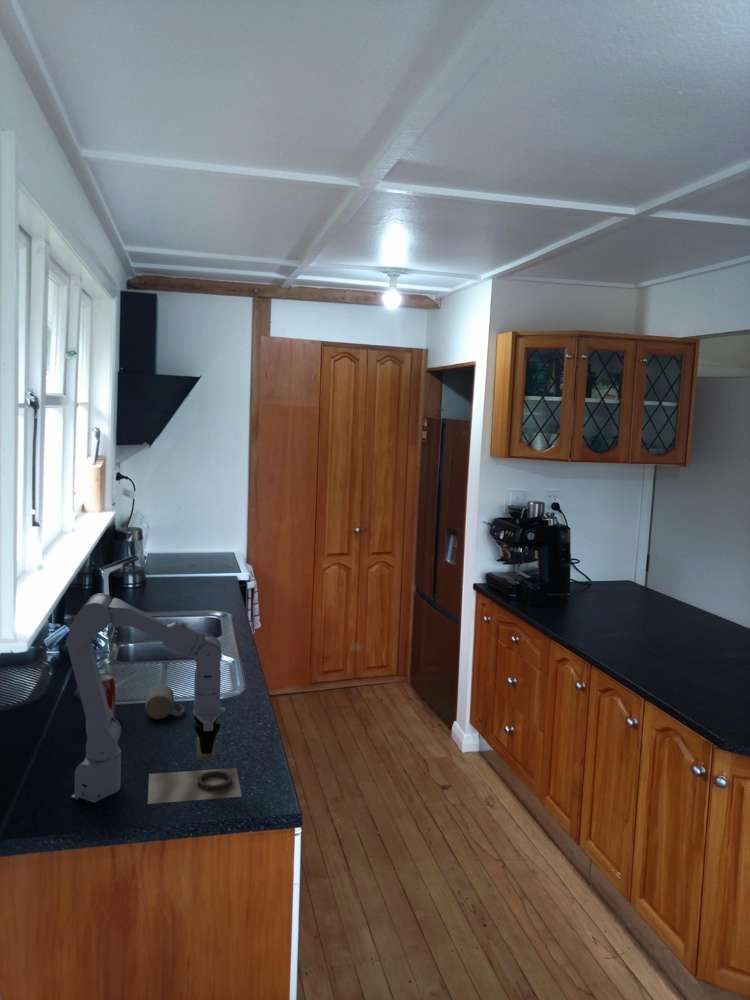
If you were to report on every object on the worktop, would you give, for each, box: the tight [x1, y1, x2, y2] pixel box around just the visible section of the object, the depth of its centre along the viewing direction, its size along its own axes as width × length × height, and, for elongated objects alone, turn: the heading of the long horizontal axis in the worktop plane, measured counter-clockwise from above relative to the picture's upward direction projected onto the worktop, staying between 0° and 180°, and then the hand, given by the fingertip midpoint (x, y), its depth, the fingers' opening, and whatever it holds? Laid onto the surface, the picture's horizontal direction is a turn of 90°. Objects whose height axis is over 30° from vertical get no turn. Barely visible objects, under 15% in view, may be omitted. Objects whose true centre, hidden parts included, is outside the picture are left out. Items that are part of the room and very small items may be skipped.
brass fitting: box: [196, 736, 216, 760], centre depth 175 cm, size 4×4×4 cm
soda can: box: [100, 672, 116, 717], centre depth 210 cm, size 7×7×12 cm
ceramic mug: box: [144, 683, 186, 720], centre depth 216 cm, size 11×8×8 cm
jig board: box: [147, 767, 243, 805], centre depth 175 cm, size 20×14×2 cm
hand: (206, 748), depth 175 cm, fingers closed on brass fitting, 4 cm apart
